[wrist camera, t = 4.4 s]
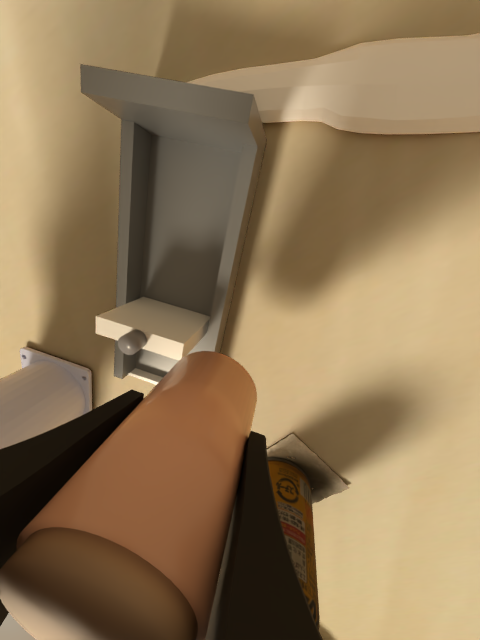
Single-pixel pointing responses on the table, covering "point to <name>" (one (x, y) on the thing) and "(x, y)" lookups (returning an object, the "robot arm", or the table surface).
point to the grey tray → (179, 197)
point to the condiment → (301, 505)
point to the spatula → (371, 87)
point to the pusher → (153, 327)
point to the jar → (141, 517)
